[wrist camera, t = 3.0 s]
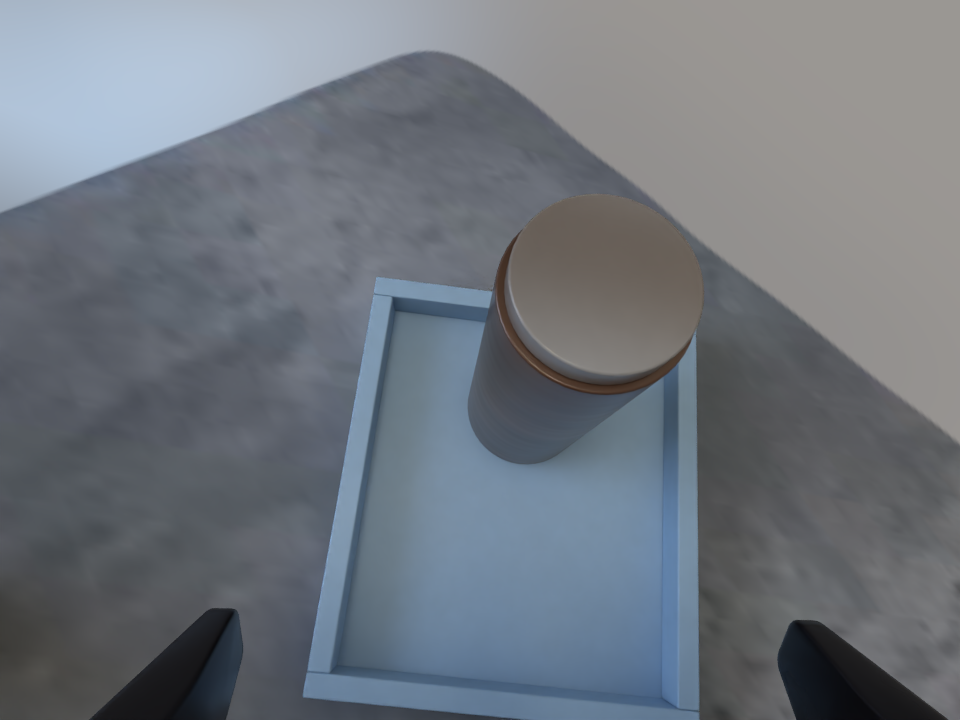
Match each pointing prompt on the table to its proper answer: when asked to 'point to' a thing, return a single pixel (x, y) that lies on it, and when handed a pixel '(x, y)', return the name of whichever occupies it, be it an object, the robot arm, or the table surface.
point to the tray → (506, 542)
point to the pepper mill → (580, 323)
